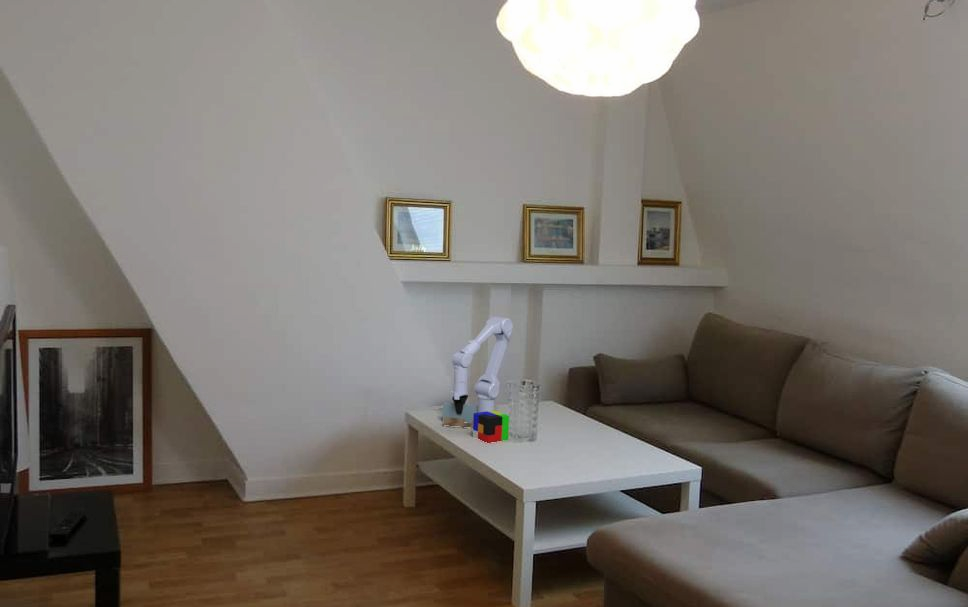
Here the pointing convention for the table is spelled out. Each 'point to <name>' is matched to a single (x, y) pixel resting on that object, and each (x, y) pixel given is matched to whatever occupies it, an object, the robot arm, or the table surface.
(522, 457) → the table surface
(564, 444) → the table surface
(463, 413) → the teal slotted plate
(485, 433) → the puzzle toy
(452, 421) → the walnut slotted plate
